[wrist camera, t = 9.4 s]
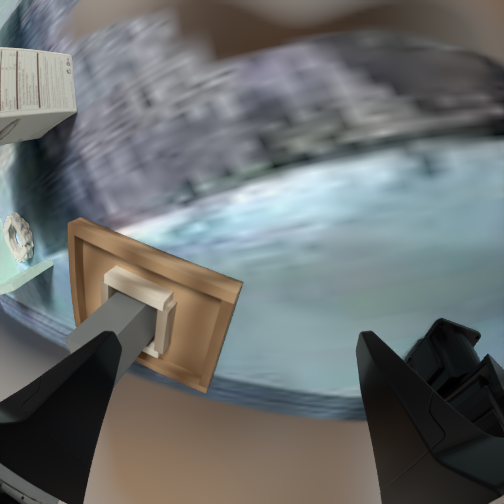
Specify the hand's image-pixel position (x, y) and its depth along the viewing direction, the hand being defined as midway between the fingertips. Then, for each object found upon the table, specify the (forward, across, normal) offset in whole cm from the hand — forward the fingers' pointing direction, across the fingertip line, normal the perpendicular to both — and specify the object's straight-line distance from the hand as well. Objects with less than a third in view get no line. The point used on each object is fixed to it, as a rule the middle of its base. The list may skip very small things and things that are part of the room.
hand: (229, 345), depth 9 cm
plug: (+14, +12, +10) cm, 21 cm away
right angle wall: (+19, +33, +2) cm, 38 cm away
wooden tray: (+14, +12, +10) cm, 21 cm away
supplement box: (+18, +20, -14) cm, 30 cm away
